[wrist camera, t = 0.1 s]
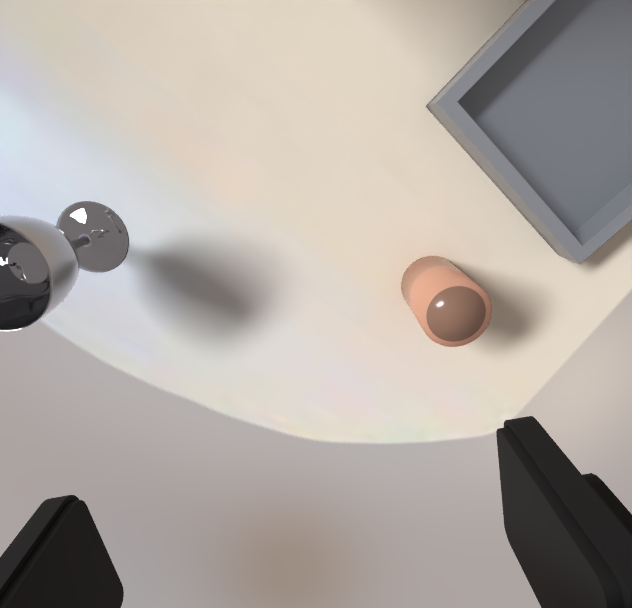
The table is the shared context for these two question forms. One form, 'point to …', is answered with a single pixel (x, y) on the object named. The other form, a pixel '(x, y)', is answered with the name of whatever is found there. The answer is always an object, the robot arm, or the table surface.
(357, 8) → the table surface
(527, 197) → the tray
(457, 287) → the cup
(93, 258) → the wine glass
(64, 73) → the table surface
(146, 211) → the table surface
